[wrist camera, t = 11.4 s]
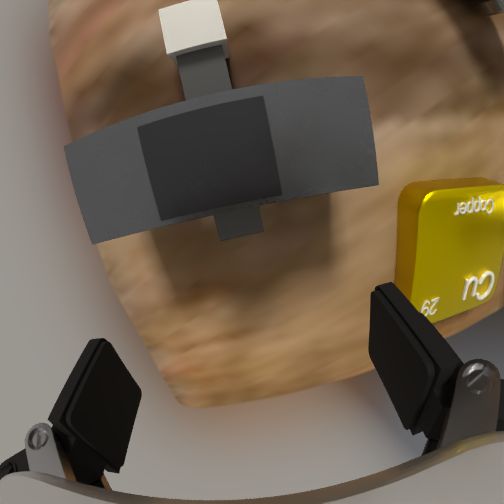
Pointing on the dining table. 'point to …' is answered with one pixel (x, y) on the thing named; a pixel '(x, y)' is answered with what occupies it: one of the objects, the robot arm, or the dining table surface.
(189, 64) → the grey and white bar
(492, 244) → the element tile
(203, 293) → the dining table surface
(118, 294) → the dining table surface
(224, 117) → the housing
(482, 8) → the muzzle brake
